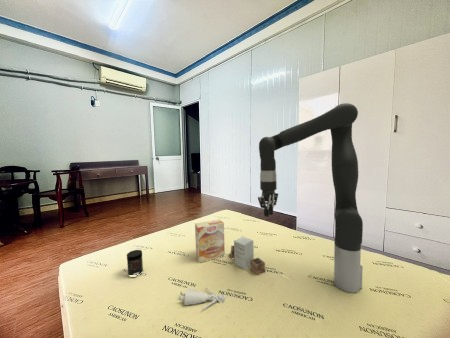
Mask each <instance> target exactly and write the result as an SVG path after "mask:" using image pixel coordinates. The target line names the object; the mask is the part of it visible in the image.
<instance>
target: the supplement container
mask: <svg viewBox="0 0 450 338" xmlns="http://www.w3.org/2000/svg"><path fill="white" fill-rule="evenodd" d="M126 263H127V264H126V265H127V275H128V274H129V275H137V274H140V273H141V272H142V271H143V272H144V266H143V265H144V263H143V251H142V250H141V249H135V250H131V251H129V252H127V254H126Z"/></svg>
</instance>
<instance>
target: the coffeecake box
mask: <svg viewBox="0 0 450 338" xmlns="http://www.w3.org/2000/svg"><path fill="white" fill-rule="evenodd" d="M194 228H195V229H194V232H195V237H194V238H195V256H196V257H195V258H196V259H197V261H198V260H199V261H198V262H202V261H205V262H207V261H206V260H209V261H211V260H210V259H213V260H215V259H214V258H216V259H218V258H217V257H220V258H222V257H221V256H224V255H226V253H225V252H226V251H225V223H224V221H222V220H221V219H214V220H208V221H201V222H196V223H194ZM224 257H225V256H224ZM202 263H203V262H202Z"/></svg>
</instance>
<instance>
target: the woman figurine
mask: <svg viewBox="0 0 450 338" xmlns="http://www.w3.org/2000/svg"><path fill="white" fill-rule="evenodd" d="M205 290H206V291H208V292H209V293H210V294H208V293H205V292H201V291H198V290H195V289H191V288H187V289H186V290H185V293H183V292H182V291H180V293H179V295H178V300H180V301H183V302H184V306H189V305H190V304H191V305H197V303H198V304H201V303H202V302H203V303H205V302H207V301H208V300H209V301H210V302H209V303H208V304H207V305H205V306H202V308H201V311H204V310H205V309H207V308H209V306H212V305H213V304H216V303H217V302H218V303H219V302H222V303H224V302H225V301H226V295H225V294H219V295H218V294H216V293H214V292H213V291H211V290H210V289H208V287H207V286H205ZM182 296H183V297H182ZM215 302H216V303H215Z"/></svg>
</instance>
